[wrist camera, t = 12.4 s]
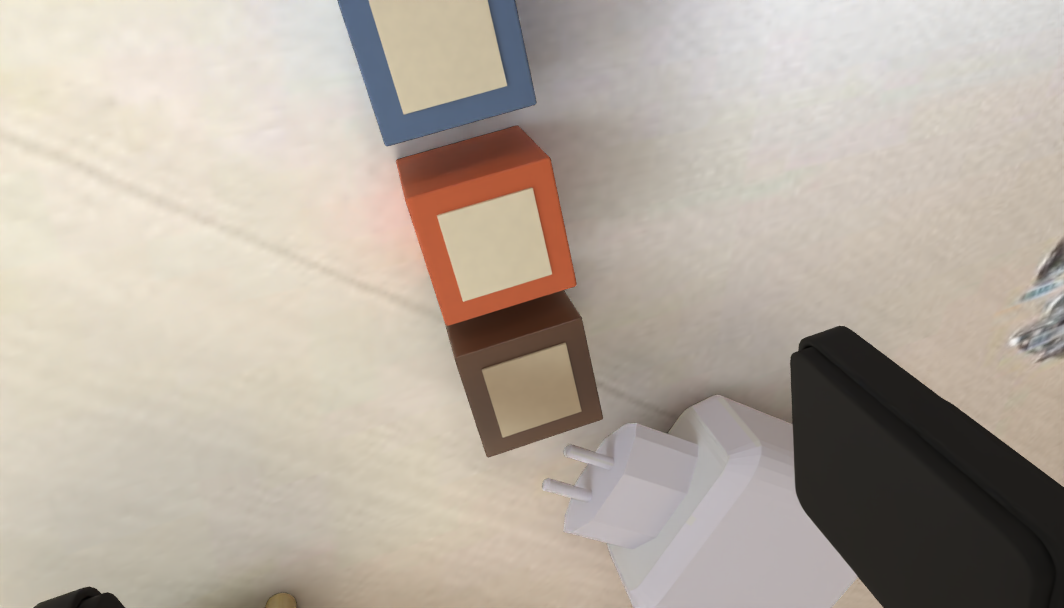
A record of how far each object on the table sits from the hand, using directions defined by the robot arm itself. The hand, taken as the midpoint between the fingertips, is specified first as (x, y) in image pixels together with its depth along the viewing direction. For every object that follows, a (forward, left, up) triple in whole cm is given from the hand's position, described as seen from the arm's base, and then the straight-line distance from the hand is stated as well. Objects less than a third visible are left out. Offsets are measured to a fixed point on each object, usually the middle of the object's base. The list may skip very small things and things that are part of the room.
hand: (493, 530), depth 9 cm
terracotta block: (+2, +1, -16) cm, 16 cm away
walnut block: (+7, -1, -16) cm, 17 cm away
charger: (+18, 0, -16) cm, 24 cm away
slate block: (-3, +4, -16) cm, 17 cm away
